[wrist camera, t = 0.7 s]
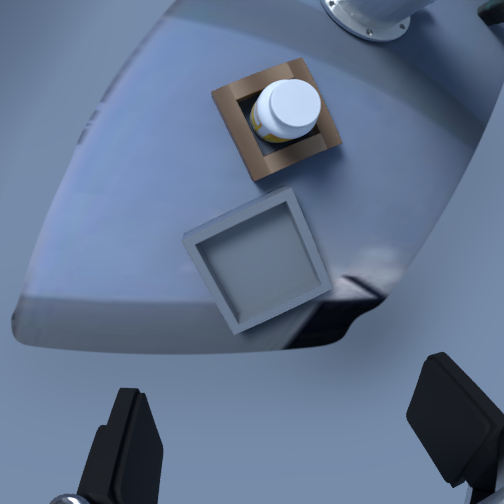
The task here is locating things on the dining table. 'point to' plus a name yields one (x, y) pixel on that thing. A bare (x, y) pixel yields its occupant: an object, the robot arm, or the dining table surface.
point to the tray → (258, 259)
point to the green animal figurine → (492, 12)
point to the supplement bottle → (285, 111)
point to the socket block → (240, 130)
